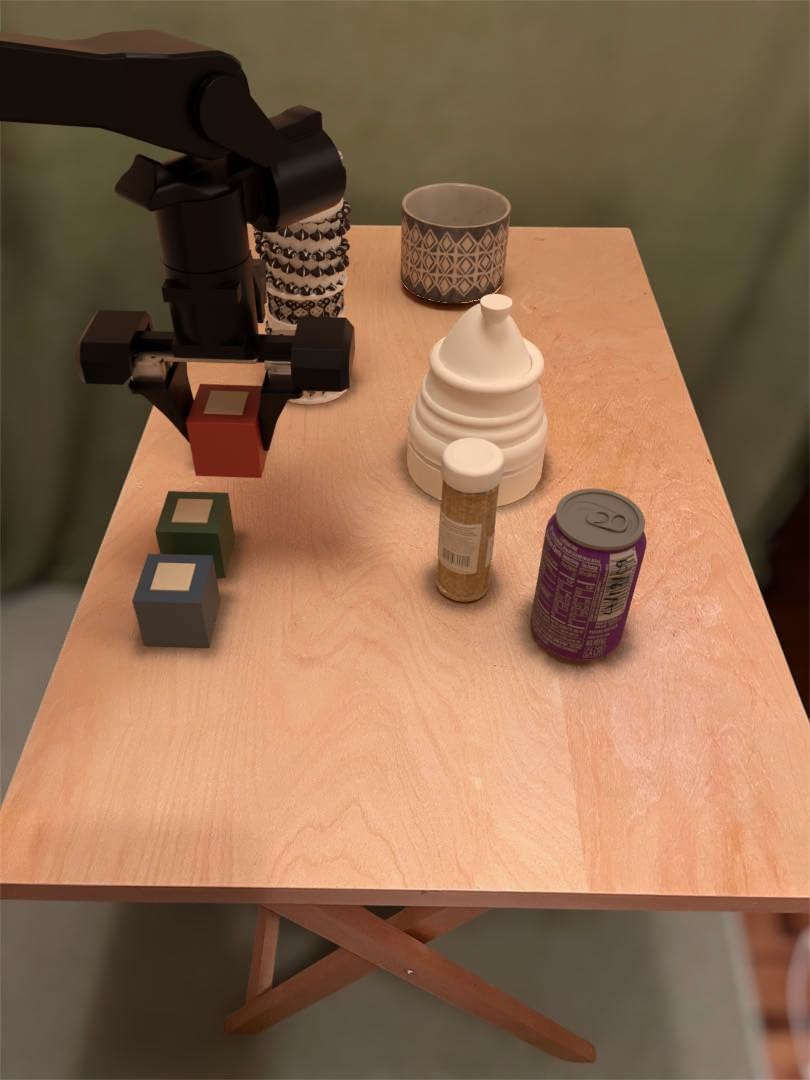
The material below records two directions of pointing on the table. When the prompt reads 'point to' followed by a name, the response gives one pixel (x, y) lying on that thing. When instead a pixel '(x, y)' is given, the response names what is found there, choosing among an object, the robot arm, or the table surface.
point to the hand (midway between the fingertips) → (233, 446)
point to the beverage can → (588, 573)
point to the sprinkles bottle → (468, 517)
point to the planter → (454, 241)
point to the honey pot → (481, 400)
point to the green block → (197, 526)
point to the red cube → (226, 431)
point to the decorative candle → (306, 274)
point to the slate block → (177, 600)
